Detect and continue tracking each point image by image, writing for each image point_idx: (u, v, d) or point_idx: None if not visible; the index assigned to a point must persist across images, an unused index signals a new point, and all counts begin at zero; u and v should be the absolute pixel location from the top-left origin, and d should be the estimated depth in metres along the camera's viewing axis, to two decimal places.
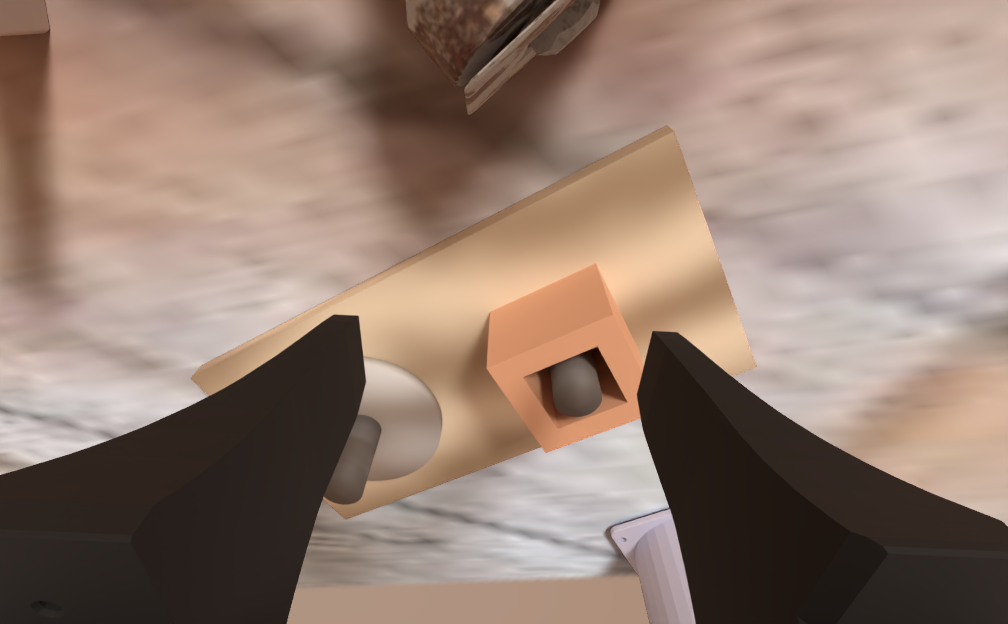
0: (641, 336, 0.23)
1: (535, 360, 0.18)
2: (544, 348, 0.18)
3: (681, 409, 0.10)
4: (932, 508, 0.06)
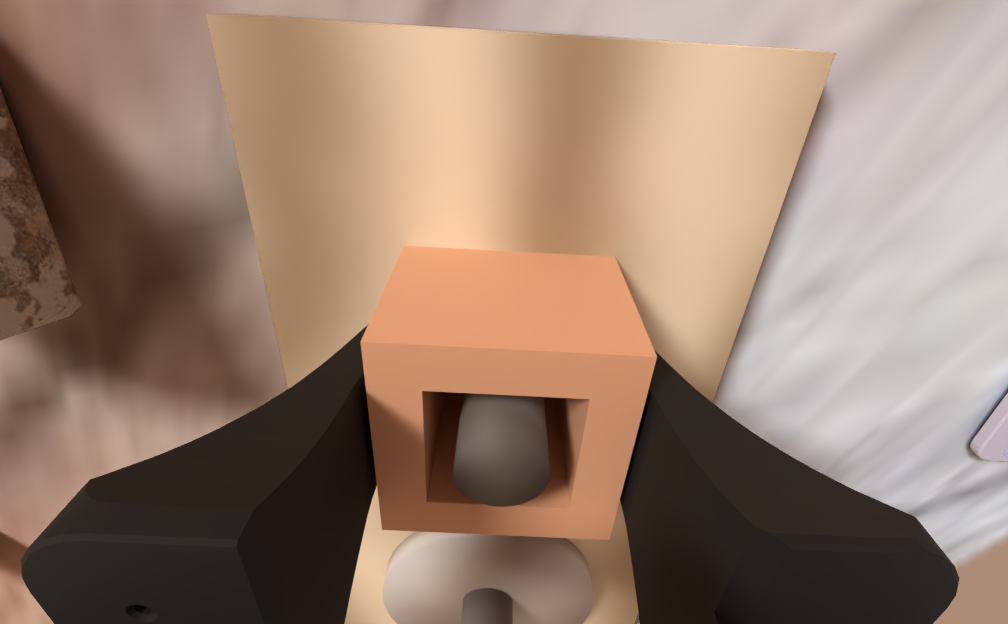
0: (589, 241, 0.12)
1: (401, 475, 0.10)
2: (383, 456, 0.10)
3: None
4: (848, 504, 0.06)
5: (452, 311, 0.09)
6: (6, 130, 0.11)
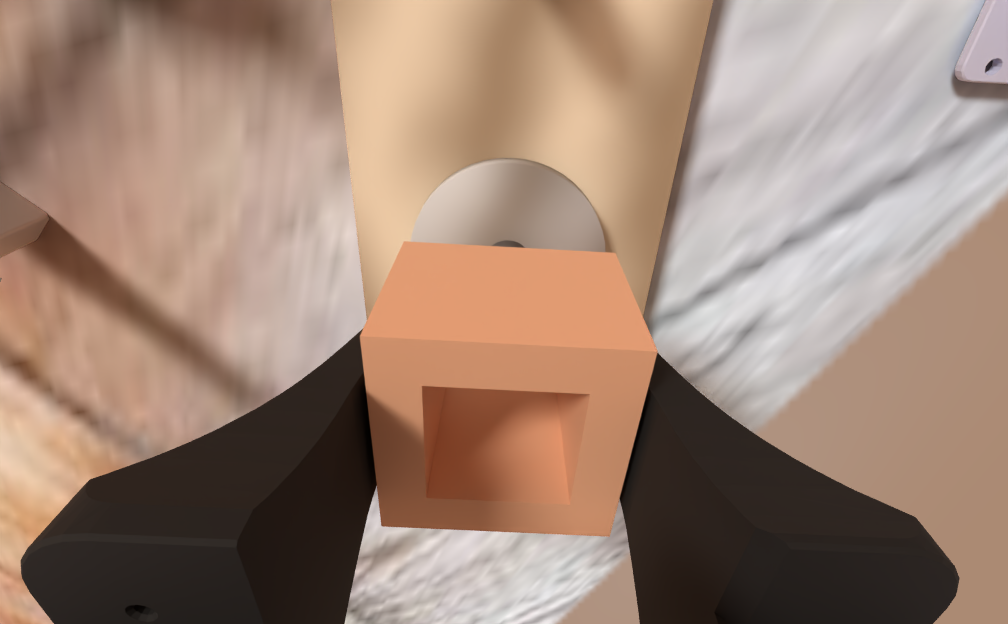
0: None
1: (401, 470, 0.10)
2: (382, 452, 0.10)
3: None
4: (848, 504, 0.06)
5: (452, 306, 0.09)
6: None
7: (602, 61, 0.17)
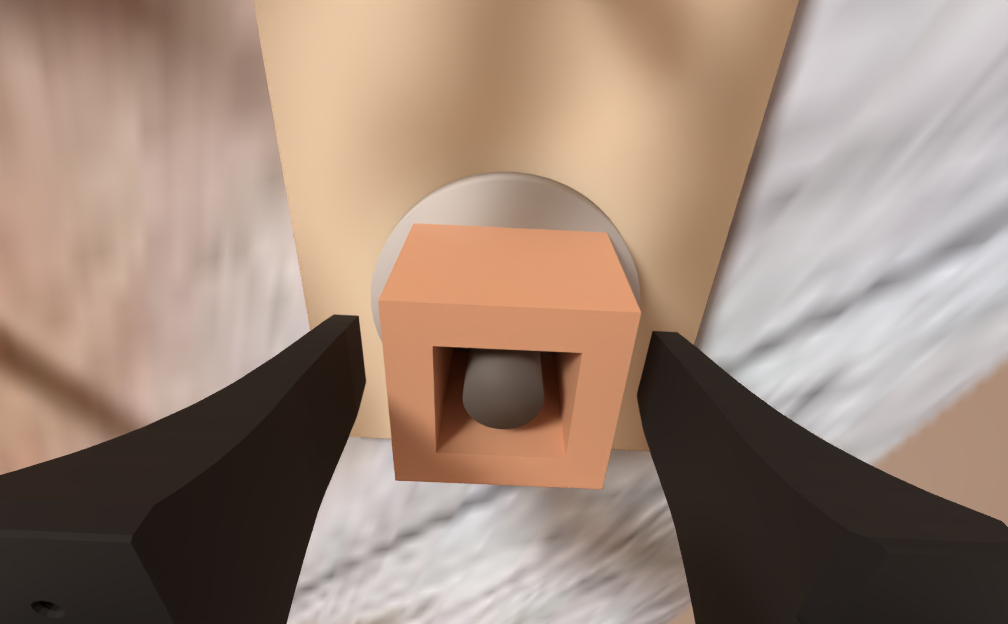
0: None
1: (413, 427, 0.11)
2: (397, 409, 0.11)
3: (681, 409, 0.10)
4: (932, 508, 0.06)
5: (458, 276, 0.10)
6: None
7: (646, 33, 0.11)
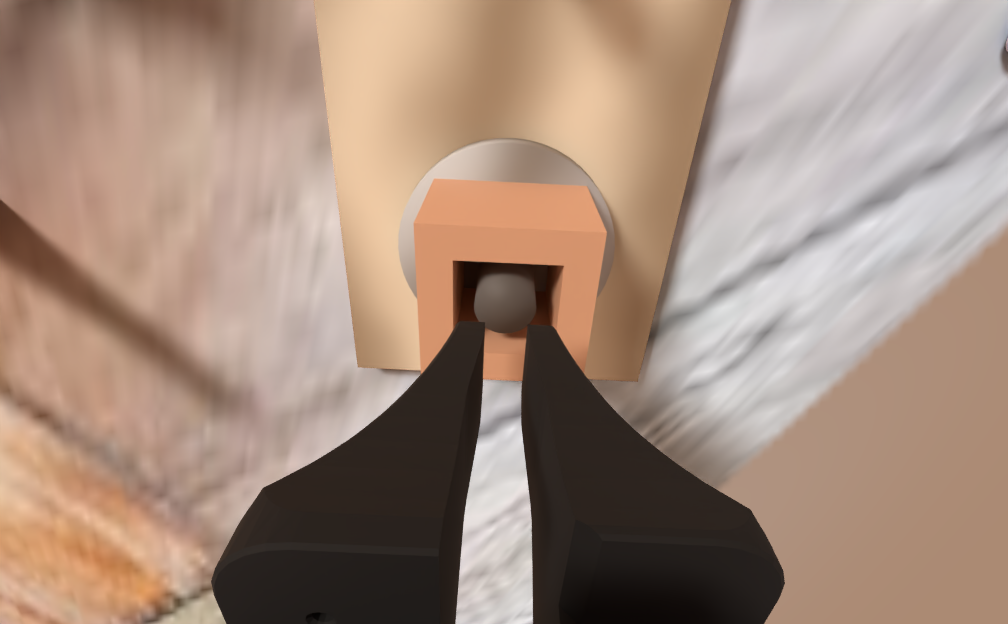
0: None
1: (436, 328, 0.15)
2: (424, 313, 0.14)
3: (534, 402, 0.10)
4: (689, 497, 0.06)
5: (471, 210, 0.14)
6: None
7: (615, 28, 0.15)
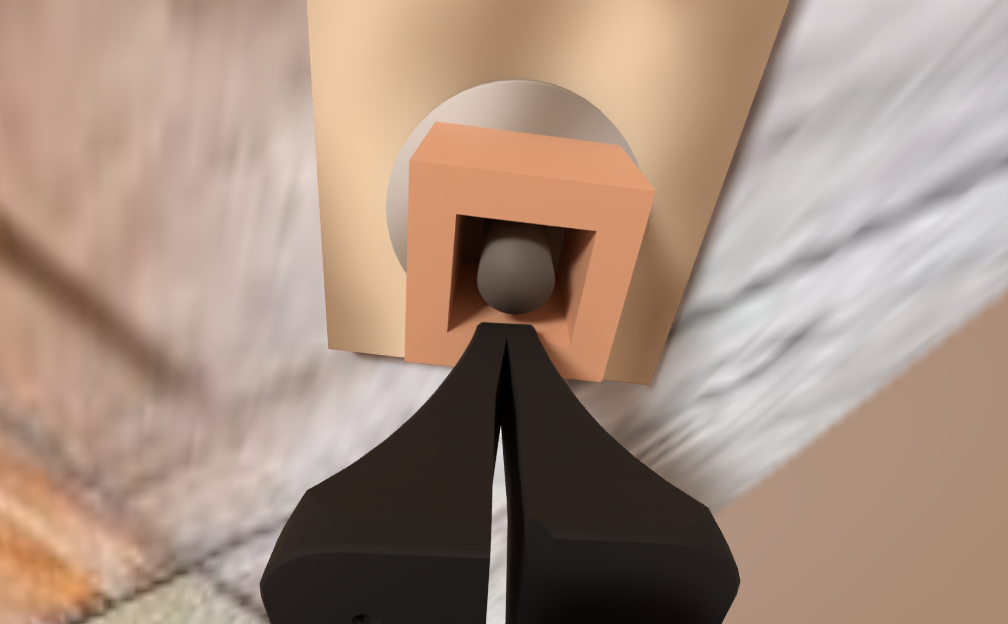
0: None
1: (427, 302, 0.12)
2: (414, 281, 0.11)
3: (510, 401, 0.10)
4: (647, 495, 0.06)
5: (483, 155, 0.11)
6: None
7: None
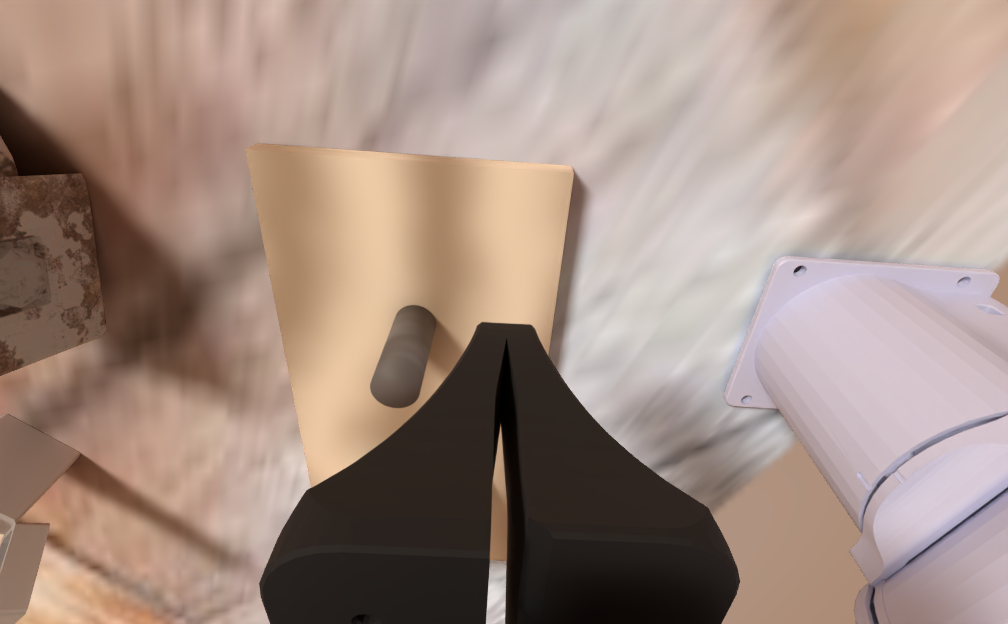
0: (458, 266, 0.20)
1: None
2: None
3: (509, 401, 0.10)
4: (647, 495, 0.06)
5: None
6: (89, 238, 0.21)
7: None
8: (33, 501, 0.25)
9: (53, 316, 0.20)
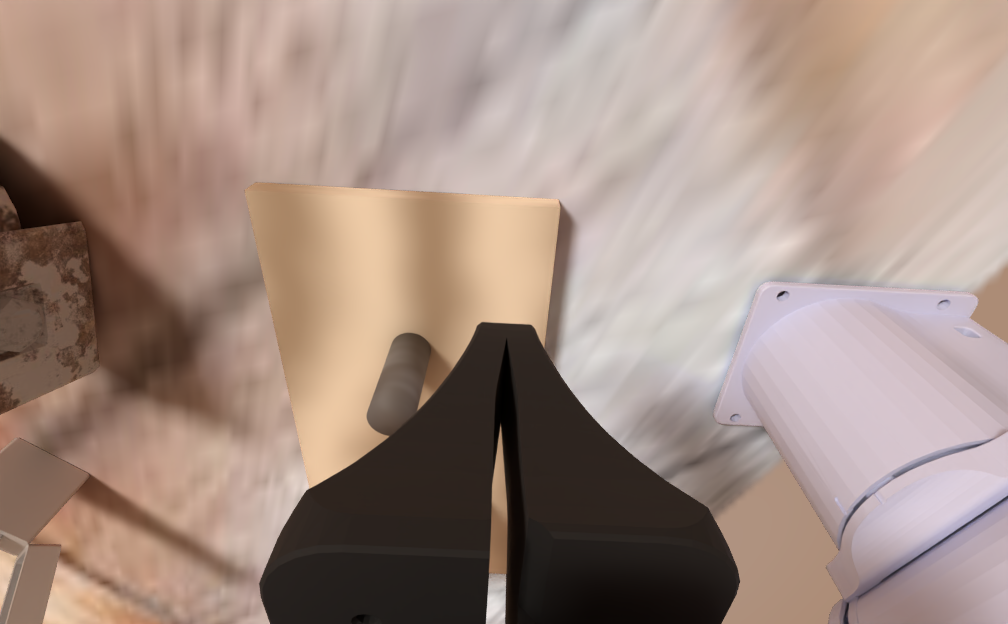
0: (451, 296, 0.21)
1: None
2: None
3: (509, 401, 0.10)
4: (647, 495, 0.06)
5: None
6: (86, 281, 0.22)
7: None
8: (45, 523, 0.26)
9: (49, 357, 0.21)
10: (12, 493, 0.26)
